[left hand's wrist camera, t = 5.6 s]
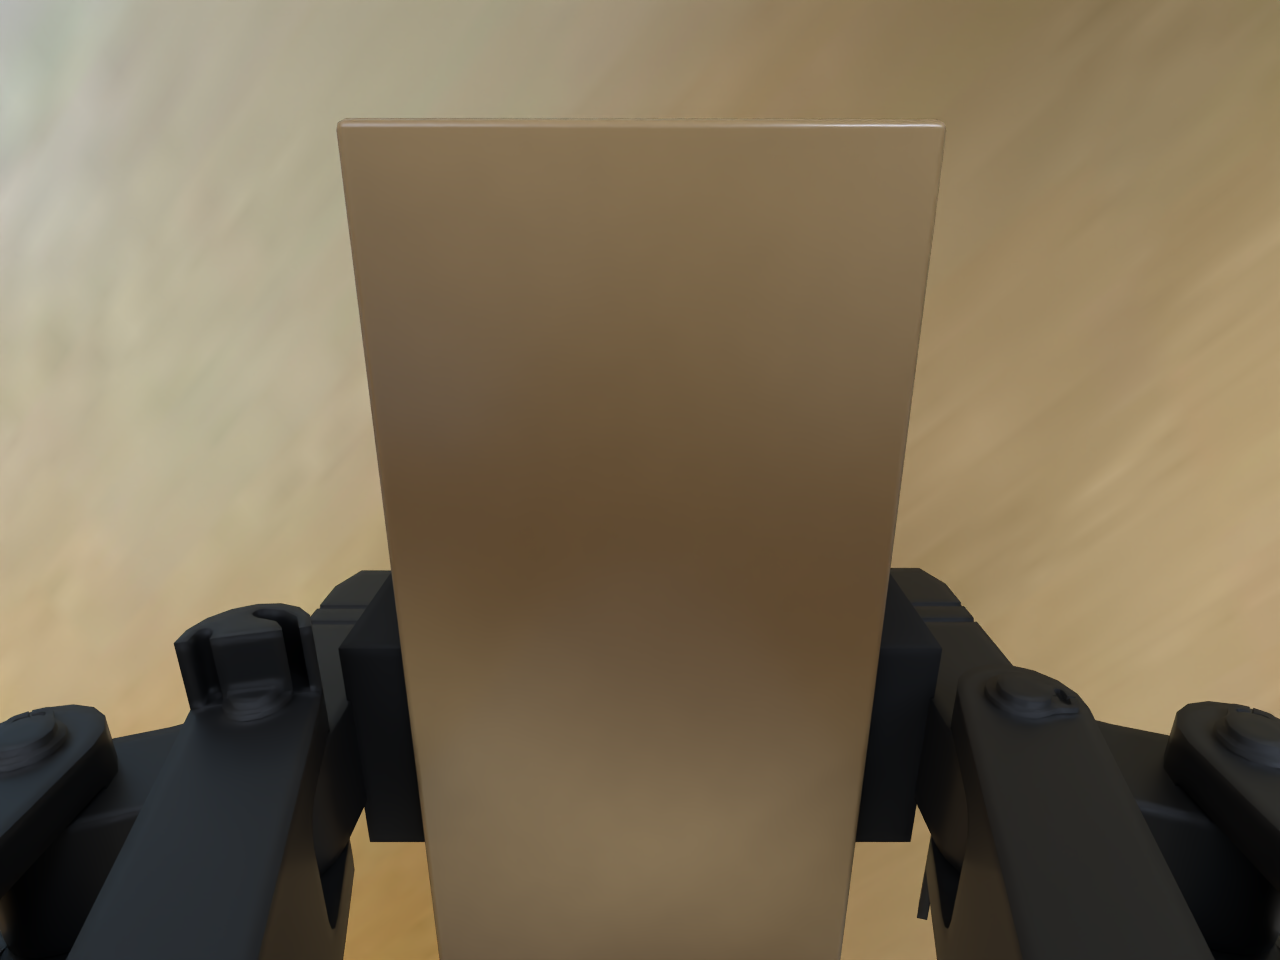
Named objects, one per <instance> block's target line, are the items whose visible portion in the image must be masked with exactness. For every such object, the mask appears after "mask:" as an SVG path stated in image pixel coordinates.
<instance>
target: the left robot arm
mask: <svg viewBox="0 0 1280 960" xmlns="http://www.w3.org/2000/svg"><path fill="white" fill-rule="evenodd" d="M973 619H974V618H973V617H972V615H971V614H970V613H969V612H968V611H967V609H966V608H965V607H964V606H961V602H960V601H959V600H958V598H957V597H956V596H955V595H954V594H953V592H952V591H951V590H950V589H949V588H948V586H947V585H946V584H945V583H943V582H941V581H940V580H938V579H936V578H935V577H933V576H931V575H930V574H928V573H926V572H925V571H923V570H921V569H920V568H890V574H889V582H888V590H887V598H886V606H885V614H884V621H883V629H882V637H881V645H880V653H879V661H878V668H877V676H876V684H875V692H874V700H873V708H872V715H871V723H870V731H869V739H868V747H867V755H866V762H865V770H864V778H863V786H862V794H861V801H860V809H859V817H858V825H857V833H856V841H855V842H910V841H911V835H912V829H913V823H914V817H915V811H916V805H918V807H919V810H920V812H921V814H922V816H923V818H924V820H925V822H926V825H927V827H928V829H929V831H930V833H931V838H930V844H929V849H928V855H927V861H926V866H925V872H924V878H923V883H922V889H921V894H920V900H919V907H918V914H917V918H920V919H925V920H927V917H928V912H929V906H930V907H931V915H932V923H933V931H934V939H935V947H936V954H937V960H1280V719H1278V718H1276V717H1274V716H1273V715H1272V714H1270V713H1267V712H1264V711H1261V710H1258V709H1255V708H1253V709H1250V707H1248V706H1243V705H1238V704H1228V703H1219V702H1211V701H1206V702H1198V703H1191V704H1187V705H1186V706H1185V707H1183V708H1182V709H1181V710H1179V711H1178V712H1177V713H1176V717H1175V720H1174V723H1173V727H1172V730H1171V733H1170V736H1169V735H1164V734H1158V733H1153V732H1148V731H1143V730H1138V729H1133V728H1128V727H1123V726H1118V725H1113V724H1109V723H1105V722H1101V721H1097V720H1095V719H1094V717H1093V715H1092V713H1091V711H1090V709H1089V708H1088V706H1087V705H1086V704H1085V703H1084V701H1083V700H1082V699H1081V698H1080V697H1079V695H1078V694H1077V693H1075V692H1074V691H1072V690H1071V689H1069V688H1068V687H1066V686H1065V685H1063V684H1062V683H1061V682H1059V681H1057V680H1055V679H1053V678H1050V677H1048V676H1046V675H1043V674H1041V673H1038V672H1036V671H1033V670H1029V669H1024V668H1020V667H1016V666H1013V665H1012V664H1011V663H1010V662H1009V660H1008V659H1007V658H1006V657H1005V656H1004V654H1003V653H1002V652H1001V651H1000V649H999V648H998V647H997V646H996V645H995V643H994V642H993V641H992V640H991V639H990V637H989V636H988V635H987V634H986V632H985V631H984V630H983V629H982V628H981V626H980V625H979V624H978V623H977V622H974V620H973ZM174 646H175V650H176V654H177V658H178V662H179V666H180V670H181V674H182V678H183V682H184V685H185V689H186V693H187V697H188V701H189V705H190V709H191V710H190V712H189V714H188V716H187V718H186V720H185V722H184V724H181V725H177V726H173V727H169V728H164V729H159V730H154V731H149V732H144V733H139V734H134V735H129V736H124V737H119V738H114V739H112V737H111V734H110V731H109V728H108V724H107V721H106V718H105V715H103V714H102V713H101V712H99V711H98V710H97V709H95V708H94V707H89V706H81V705H74V704H73V705H65V706H56V707H45V708H41V709H36V710H32V712H30V713H29V711H28V712H25V713H22V714H19V715H16V716H13V717H11V718H10V719H8V720H7V721H5V722H2V723H0V960H343V956H344V948H345V940H346V933H347V925H348V917H349V909H350V901H351V893H352V885H353V877H354V863H353V855H352V849H351V844H350V836H351V834H352V832H353V830H354V827H355V825H356V823H357V821H358V819H359V817H360V815H361V812H362V810H363V808H365V814H366V820H367V826H368V832H369V838H370V842H425V838H424V830H423V822H422V814H421V806H420V798H419V790H418V781H417V773H416V765H415V757H414V749H413V741H412V733H411V725H410V717H409V709H408V701H407V693H406V685H405V677H404V669H403V661H402V653H401V645H400V637H399V629H398V621H397V613H396V604H395V596H394V588H393V580H392V572H391V571H360V572H358V573H357V574H355V575H354V576H352V577H350V578H349V579H347V580H345V581H344V582H342V583H340V584H339V585H337V586H335V588H334V589H333V590H332V591H331V592H330V594H329V595H328V596H327V597H326V599H325V600H324V601H323V602H322V603H321V605H320V609H317V610H316V611H315V612H314V613H313V614H312V616H311V617H310V615H309V614H308V613H307V612H305V611H304V610H302V609H301V608H300V607H296V606H291V605H287V604H282V603H277V604H256V605H251V606H245V607H240V608H235V609H231V610H228V611H226V612H223V613H220V614H217V615H215V616H212V617H209V618H207V619H205V620H203V621H201V622H200V623H198V624H196V625H195V626H193V627H191V628H189V629H188V630H186V631H185V632H184V633H183V634H182V635H181V636H180V637H179V638H178V639H177V640H176V642H175V643H174Z"/></svg>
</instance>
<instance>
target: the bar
mask: <svg viewBox="0 0 1280 960" xmlns="http://www.w3.org/2000/svg"><path fill="white" fill-rule="evenodd" d="M945 136H946V127H945V123H944V122H942V121H940V120H938V119H483V118H346V119H343V120H341V121H339V122H338V125H337V138H338V146H339V154H340V162H341V170H342V178H343V186H344V194H345V202H346V210H347V218H348V226H349V234H350V242H351V250H352V258H353V267H354V275H355V283H356V291H357V299H358V307H359V315H360V323H361V331H362V339H363V347H364V355H365V363H366V371H367V379H368V387H369V395H370V403H371V411H372V419H373V427H374V435H375V444H376V452H377V460H378V468H379V476H380V484H381V492H382V500H383V508H384V516H385V524H386V532H387V540H388V548H389V556H390V564H391V572H392V580H393V588H394V596H395V604H396V613H397V621H398V629H399V637H400V645H401V653H402V661H403V669H404V677H405V685H406V693H407V701H408V709H409V717H410V725H411V733H412V741H413V749H414V757H415V765H416V773H417V781H418V790H419V798H420V806H421V814H422V822H423V830H424V838H425V846H426V854H427V862H428V870H429V878H430V886H431V894H432V902H433V910H434V918H435V926H436V934H437V942H438V950H439V958H440V960H840V958H841V950H842V942H843V935H844V927H845V919H846V911H847V903H848V895H849V888H850V880H851V872H852V864H853V856H854V848H855V841H856V833H857V825H858V817H859V809H860V801H861V794H862V786H863V778H864V770H865V762H866V755H867V747H868V739H869V731H870V723H871V715H872V708H873V700H874V692H875V684H876V676H877V668H878V661H879V653H880V645H881V637H882V629H883V621H884V614H885V606H886V598H887V590H888V582H889V574H890V567H891V559H892V551H893V543H894V535H895V528H896V520H897V512H898V504H899V496H900V488H901V481H902V473H903V465H904V457H905V449H906V441H907V434H908V426H909V418H910V410H911V402H912V394H913V387H914V379H915V371H916V363H917V355H918V347H919V340H920V332H921V324H922V316H923V308H924V301H925V293H926V285H927V277H928V269H929V261H930V254H931V246H932V238H933V230H934V222H935V214H936V207H937V199H938V191H939V183H940V175H941V167H942V160H943V152H944V144H945Z"/></svg>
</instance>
